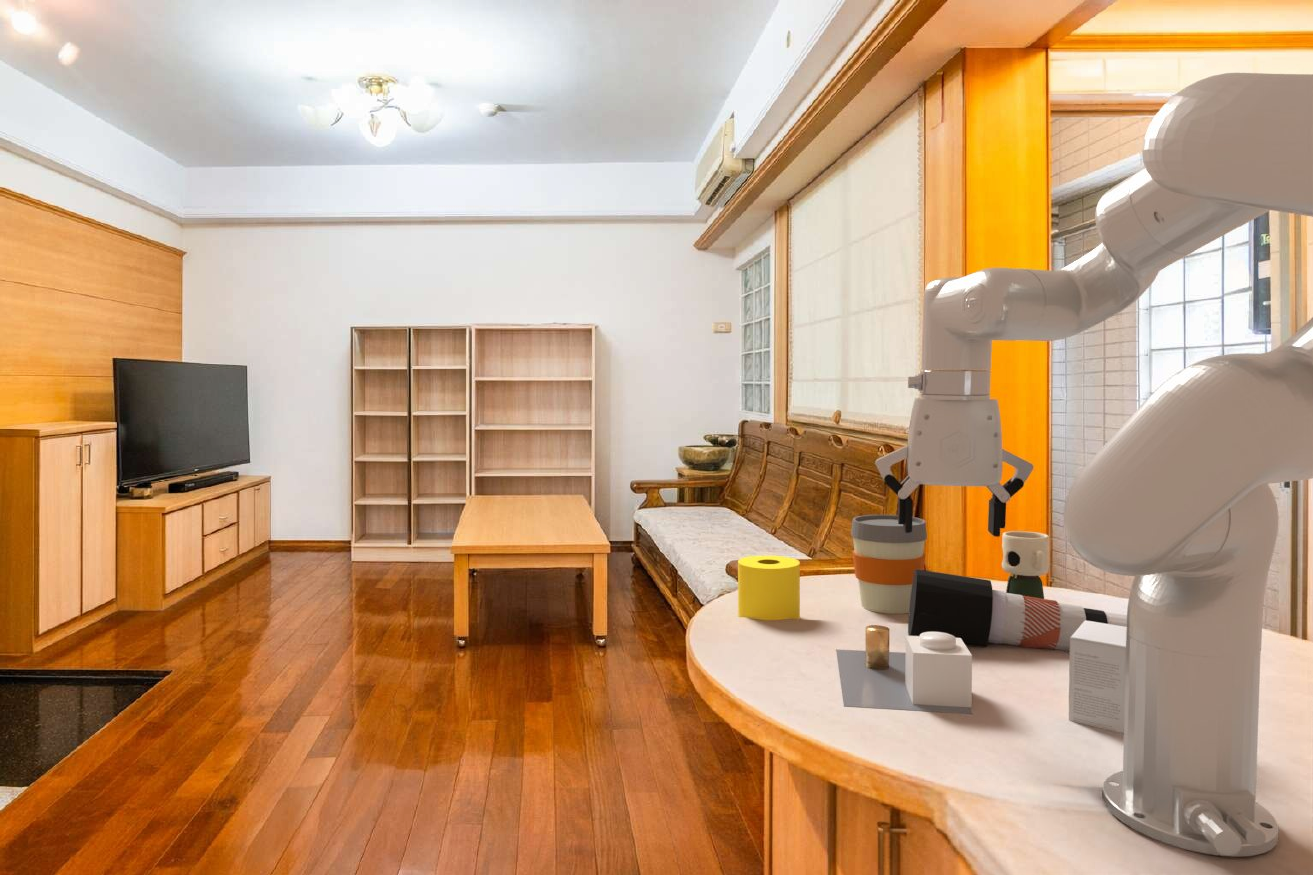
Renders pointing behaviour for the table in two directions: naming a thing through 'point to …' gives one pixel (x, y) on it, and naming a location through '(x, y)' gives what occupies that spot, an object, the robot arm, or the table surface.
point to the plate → (880, 684)
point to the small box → (1097, 675)
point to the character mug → (1025, 562)
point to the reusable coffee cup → (887, 561)
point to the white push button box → (938, 670)
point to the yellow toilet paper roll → (769, 587)
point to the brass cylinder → (877, 647)
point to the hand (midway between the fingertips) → (950, 532)
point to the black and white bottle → (994, 613)
